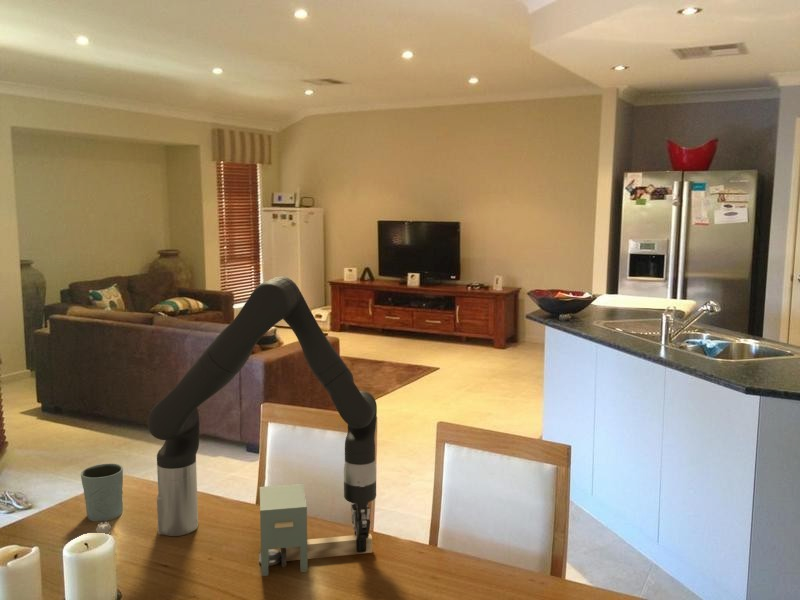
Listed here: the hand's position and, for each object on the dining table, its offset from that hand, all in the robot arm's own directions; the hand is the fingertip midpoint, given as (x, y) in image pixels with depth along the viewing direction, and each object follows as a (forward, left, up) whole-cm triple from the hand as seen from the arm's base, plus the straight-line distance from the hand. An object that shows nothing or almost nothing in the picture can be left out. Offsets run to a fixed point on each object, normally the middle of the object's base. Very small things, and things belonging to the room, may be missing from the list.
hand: (360, 548), depth 161 cm
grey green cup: (-63, +32, -1) cm, 71 cm away
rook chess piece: (-58, +8, -1) cm, 58 cm away
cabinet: (-18, 0, -1) cm, 18 cm away
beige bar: (-7, 0, -1) cm, 7 cm away
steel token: (-21, 0, -1) cm, 21 cm away
